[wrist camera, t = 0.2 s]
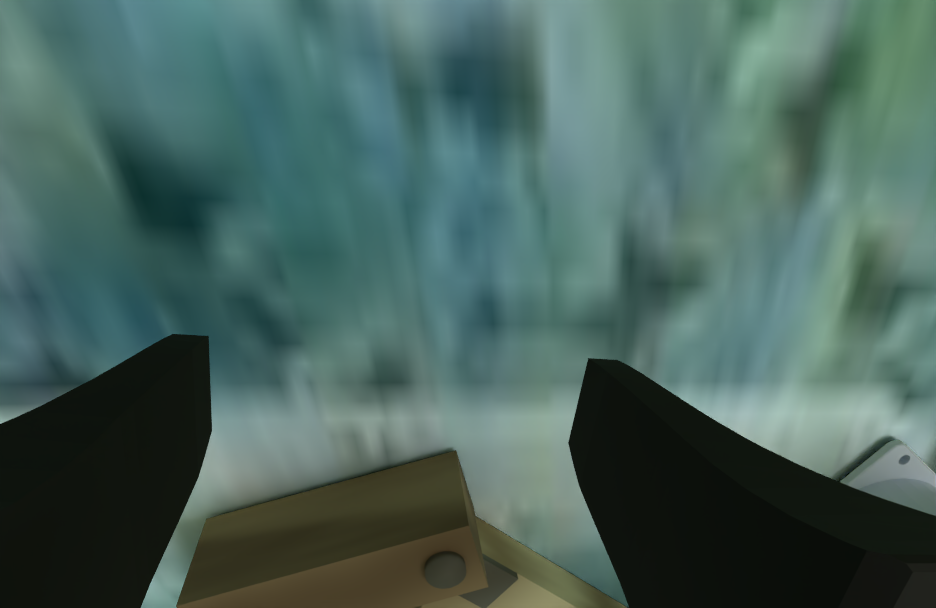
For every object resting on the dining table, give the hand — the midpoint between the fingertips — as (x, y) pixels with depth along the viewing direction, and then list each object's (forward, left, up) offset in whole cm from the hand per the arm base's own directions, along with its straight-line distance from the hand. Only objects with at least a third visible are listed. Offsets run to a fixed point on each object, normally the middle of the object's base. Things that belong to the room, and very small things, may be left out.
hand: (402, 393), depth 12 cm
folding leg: (-6, +10, -9) cm, 15 cm away
